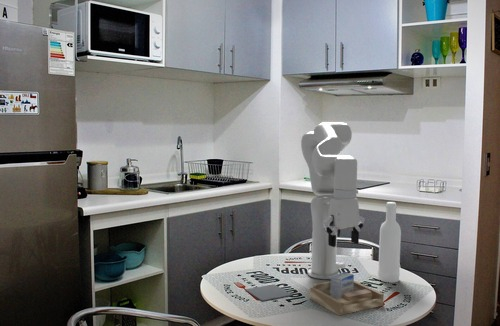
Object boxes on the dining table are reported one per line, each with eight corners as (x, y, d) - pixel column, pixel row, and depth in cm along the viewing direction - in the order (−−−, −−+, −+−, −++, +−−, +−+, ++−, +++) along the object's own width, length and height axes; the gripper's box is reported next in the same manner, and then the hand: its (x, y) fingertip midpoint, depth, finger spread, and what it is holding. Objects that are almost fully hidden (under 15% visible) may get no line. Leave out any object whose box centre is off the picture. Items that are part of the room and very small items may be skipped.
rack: (352, 290, 181) (352, 277, 181) (383, 305, 167) (383, 290, 167) (310, 299, 172) (310, 284, 172) (339, 315, 159) (339, 300, 158)
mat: (274, 285, 186) (274, 284, 186) (292, 295, 175) (292, 294, 175) (245, 290, 180) (245, 289, 180) (262, 301, 170) (262, 300, 170)
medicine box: (340, 305, 168) (341, 279, 167) (329, 301, 171) (330, 276, 170) (353, 298, 173) (354, 274, 172) (342, 295, 176) (343, 271, 176)
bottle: (391, 284, 189) (394, 205, 186) (373, 279, 194) (376, 202, 192) (403, 280, 194) (406, 203, 191) (385, 274, 200) (388, 200, 197)
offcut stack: (367, 301, 171) (368, 288, 170) (375, 305, 168) (375, 291, 167) (334, 308, 164) (335, 295, 164) (341, 312, 161) (342, 298, 160)
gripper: (357, 191, 176) (356, 239, 177) (317, 194, 168) (316, 244, 169) (372, 194, 169) (370, 244, 171) (331, 197, 161) (329, 250, 162)
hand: (343, 244), depth 170 cm, fingers open, 9 cm apart
